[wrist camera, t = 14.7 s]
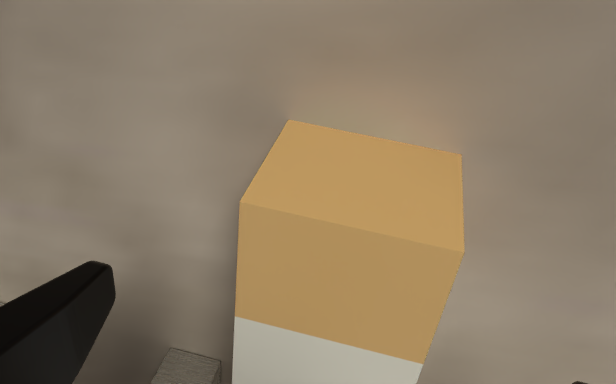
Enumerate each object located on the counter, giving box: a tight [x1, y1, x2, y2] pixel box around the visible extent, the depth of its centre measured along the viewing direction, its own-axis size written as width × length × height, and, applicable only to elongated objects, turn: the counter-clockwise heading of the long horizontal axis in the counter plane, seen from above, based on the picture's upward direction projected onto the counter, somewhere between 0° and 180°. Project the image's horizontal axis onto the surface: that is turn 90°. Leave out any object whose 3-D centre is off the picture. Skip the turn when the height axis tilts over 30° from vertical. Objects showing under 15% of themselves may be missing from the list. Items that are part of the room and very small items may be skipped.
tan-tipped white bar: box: [232, 120, 464, 384], centre depth 14 cm, size 10×4×4 cm, turn 174°
